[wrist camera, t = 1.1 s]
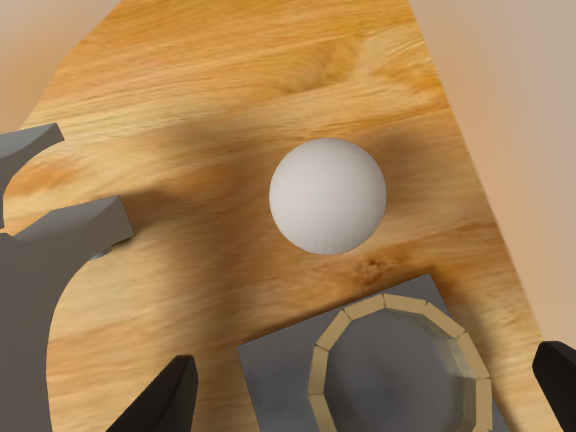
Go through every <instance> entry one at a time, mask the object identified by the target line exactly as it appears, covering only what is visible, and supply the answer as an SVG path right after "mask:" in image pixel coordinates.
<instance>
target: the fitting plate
mask: <svg viewBox="0 0 576 432" xmlns="http://www.w3.org/2000/svg"><path fill="white" fill-rule="evenodd" d="M464 331H465V329H464V328H463V327H461V326H460V325H459V324H457V323H456V322H455V321H453V319H452V317H451V315H450V313H449V311H448V309H447V307H446V305H445V303H444V301H443V299H442V297H441V295H440V293H439V291H438V289H437V287H436V285H435V283H434V282H433V280H432V278H431V276H430V274H429V273H427V274H425V275H422V276H420V277H417V278H414V279H412V280H409V281H406V282H404V283H401V284H399V285H396V286H393V287H391V288H388V289H386V290H383V291H380V292H378V293H375V294H372V295H370V296H367V297H365V298H362V299H359V300H357V301H354V302H352V303H349V304H346V305H344V306H341V307H339V308H336V309H333V310H331V311H328V312H325V313H323V314H320V315H318V316H315V317H312V318H310V319H307V320H305V321H302V322H299V323H297V324H294V325H292V326H289V327H286V328H284V329H281V330H278V331H276V332H273V333H271V334H268V335H265V336H263V337H260V338H258V339H255V340H252V341H250V342H247V343H245V344H242V345H239V346H237V347H236V348H237V351H238V355H239V358H240V362H241V365H242V369H243V372H244V375H245V379H246V382H247V386H248V389H249V393H250V396H251V400H252V403H253V407H254V410H255V414H256V417H257V420H258V424H259V427H260V431H261V432H510V430H509V428H508V426H507V424H506V422H505V420H504V418H503V416H502V414H501V412H500V410H499V409H498V407H497V405H496V403H495V401H494V399H493V397H492V387H491V379H486V378H487V377H490V374H489V372H488V371H487V369H486V367H485V365H484V363H483V361H482V359H481V357H480V355H479V353H478V351H477V349H476V347H475V346H474V344H473V342H472V340H471V338H470V336H469V334H468V332H464Z"/></svg>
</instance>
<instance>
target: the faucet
mask: <svg viewBox="0 0 576 432" xmlns="http://www.w3.org/2000/svg"><path fill="white" fill-rule="evenodd" d="M64 140H65V139H64V137H63V135H62V133H61V131H60V129H59V127H58V125H57V123H52V124H47V125H43V126H38V127H34V128H29V129H24V130H20V131H15V132H10V133H6V134H1V135H0V229H1V228H4V220H3V194H4V192H5V189H6V187H7V185H8V183H9V182H10V180H11V178H12V177H13V176H14V175H15V174H16V173H17V172H18V171H19V170H20V169H21V168H22V167H23V166H24V165H25V164H26V163H27V162H28V161H29V160H30V159H31V158H33V157H34V156H35V155H37V154H38V153H40V152H41V151H43V150H44V149H46V148H48V147H50V146H52V145H54V144H56V143H59V142H61V141H64ZM132 236H134V232H133V229H132V227H131V224H130V221H129V219H128V216H127V214H126V211H125V208H124V206H123V203H122V200H121V198H120V195H118V196H114V197H109V198H105V199H100V200H96V201H92V202H87V203H83V204H78V205H74V206H70V207H65V208H61V209H56V210H52V211H50V212H49V213H47V214H46V215H44V216H43V217H42V218H40V219H39V220H37V221H36V222H35V223H33V224H32V225H30V226H29V227H27V228H25V229H24V230H22V231H21V232H19V233H17V234H16V235H14V236H11V235H9V234H7V233H0V432H53V431H52V425H51V420H50V411H49V401H48V392H47V382H46V354H47V345H48V338H49V331H50V325H51V322H52V318H53V314H54V310H55V308H56V305H57V303H58V301H59V298H60V296H61V295H62V293H63V291H64V289H65V287H66V286H67V284H68V282H69V281H70V279H71V278H72V277H73V276H74V274H75V273H76V272H77V271H78V270H79V269H80V268H81V267H82V266H83V265H84V264H85V263H86V262H87V261H90V260H94V259H97V258H99V257H102V256H104V255H106V254H108V253H109V252H111V251H112V247H111V245H113V244H115V243H117V242H120V241H122V240H125V239H127V238H129V237H132Z"/></svg>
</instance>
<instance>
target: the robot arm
mask: <svg viewBox="0 0 576 432" xmlns="http://www.w3.org/2000/svg"><path fill="white" fill-rule="evenodd" d="M532 368H533V372H534V375H535V377H536V379H537V381H538V383H539V385H540V387H541V389H542V391H543V393H544V395H545V396H546V398H547V400H548V402H549V404H550V406H551V408H552V410H553V412H554V414H555V416H556V418H557V420H558V422H559V424H560V426H561V428H562V429H563V431H564V432H576V350H575V349H573V348H571V347H569V346H567V345H566V344H564V343H562V342H559V341H543V342H541V343H540V344H539V346H538V349H537V352H536V355H535V358H534V360H533V364H532ZM197 388H198V374H197V370H196V365H195V361H194V358H193V356H192V355H177V356H176V357H174V358H173V360H172V361H171V362H170V363H169V364H168V365H167V366H166V367H165V368H164V369H163V370H162V371H161V372H160V374H159V375H158V376H157V377H156V378H155V379H154V380H153V381H152V382H151V383H150V384H149V385H148V386H147V387H146V389H145V390H144V391H143V392H142V393H141V394H140V395H139V396H138V397H137V398H136V399H135V400H134V401H133V403H132V404H131V405H130V406H129V407H128V408H127V409H126V410H125V411H124V412H123V413H122V414H121V415H120V416H119V418H118V419H117V420H116V421H115V422H114V423H113V424H112V425H111V426H110V427H109V428H108V429H107V430H106V432H191V426H192V420H193V413H194V407H195V401H196V395H197Z"/></svg>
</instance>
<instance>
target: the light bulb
mask: <svg viewBox="0 0 576 432" xmlns="http://www.w3.org/2000/svg"><path fill="white" fill-rule="evenodd" d="M386 199H387V193H386V184H385V180H384V177H383V174H382V172H381V170H380V168H379V166H378V165H377V163H376V162H375V160H374V159H373V158H372V157H371V156H370V155H369V154H368V153H367V152H366V151H365V150H364V149H362V148H361V147H359V146H358V145H356V144H354V143H351V142H349V141H346V140H343V139H337V138H319V139H314V140H310V141H308V142H305V143H303V144H301V145H299V146H297V147H296V148H294V149H293V150H292V151H291V152H289V153H288V154H287V155H286V156H285V157H284V158H283V160H282V161H281V162H280V164H279V165H278V167H277V168H276V170H275V172H274V175H273V177H272V180H271V185H270V192H269V202H270V209H271V213H272V216H273V219H274V221H275V223H276V225H277V227H278V228H279V230H280V231H281V232H282V234H283V235H284V236H285V237H286V238H287V239H288V240H289V241H290V242H292V243H293V244H294V245H296V246H297V247H299V248H301V249H303V250H305V251H308V252H311V253H315V254H321V255H333V254H340V253H344V252H347V251H350V250H352V249H354V248H356V247H358V246H359V245H361V244H362V243H364V242H365V241H366V240H367V239H368V238H369V237H370V236H371V235H372V234H373V233H374V231H375V230H376V229H377V227H378V226H379V224H380V222H381V220H382V218H383V215H384V211H385V208H386Z"/></svg>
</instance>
